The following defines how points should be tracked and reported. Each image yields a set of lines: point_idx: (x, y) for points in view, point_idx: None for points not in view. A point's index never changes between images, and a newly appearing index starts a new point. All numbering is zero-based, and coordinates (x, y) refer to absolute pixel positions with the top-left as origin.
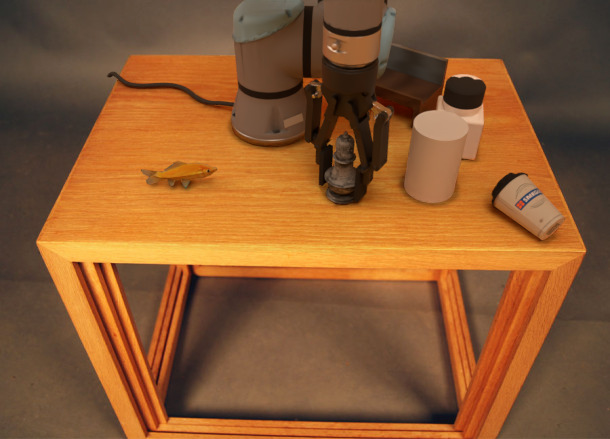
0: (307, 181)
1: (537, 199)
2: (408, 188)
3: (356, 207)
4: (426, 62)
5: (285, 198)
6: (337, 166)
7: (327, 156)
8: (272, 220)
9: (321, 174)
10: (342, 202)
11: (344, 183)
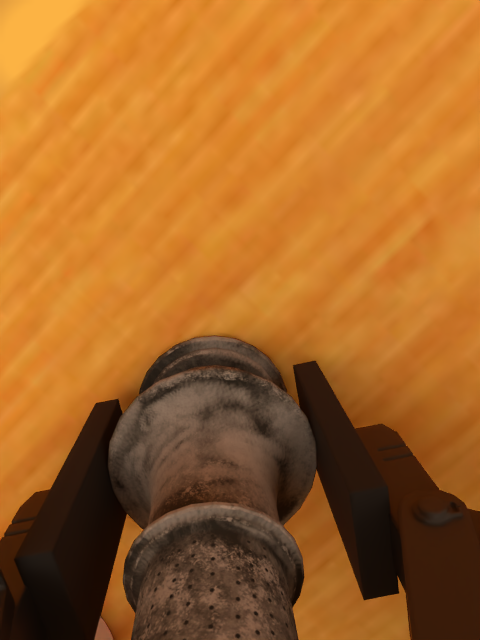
0: (389, 355)
1: None
2: None
3: (110, 389)
4: None
5: (386, 196)
6: (213, 480)
7: (341, 502)
8: (321, 20)
9: (317, 395)
10: (159, 361)
11: (149, 424)
